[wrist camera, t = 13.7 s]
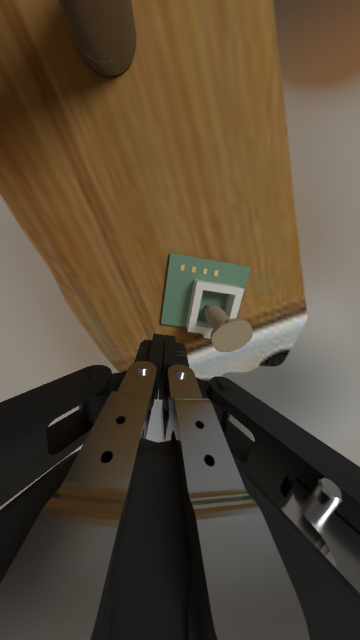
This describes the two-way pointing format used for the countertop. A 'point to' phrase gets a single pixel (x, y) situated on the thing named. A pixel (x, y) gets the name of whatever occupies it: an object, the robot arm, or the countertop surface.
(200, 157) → the countertop surface
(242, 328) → the handle
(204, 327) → the socket
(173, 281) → the board
